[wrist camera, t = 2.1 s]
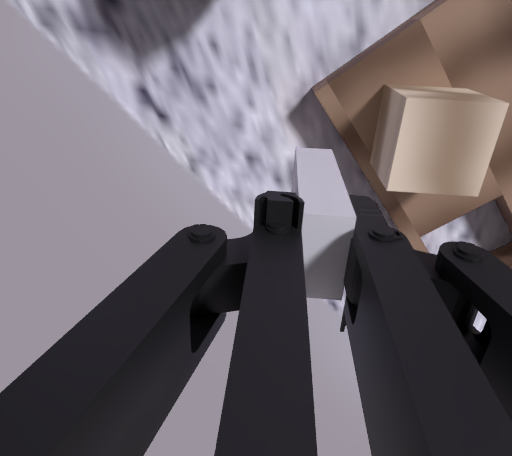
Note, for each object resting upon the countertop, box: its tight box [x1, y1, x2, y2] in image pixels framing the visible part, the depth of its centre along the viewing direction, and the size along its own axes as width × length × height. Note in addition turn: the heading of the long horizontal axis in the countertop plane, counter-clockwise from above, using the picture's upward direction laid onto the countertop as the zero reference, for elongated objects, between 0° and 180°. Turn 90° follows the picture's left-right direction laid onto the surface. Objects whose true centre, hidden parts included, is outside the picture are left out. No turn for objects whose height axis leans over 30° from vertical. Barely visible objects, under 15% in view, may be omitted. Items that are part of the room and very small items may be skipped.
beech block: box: [370, 84, 509, 197], centre depth 23 cm, size 5×5×5 cm
